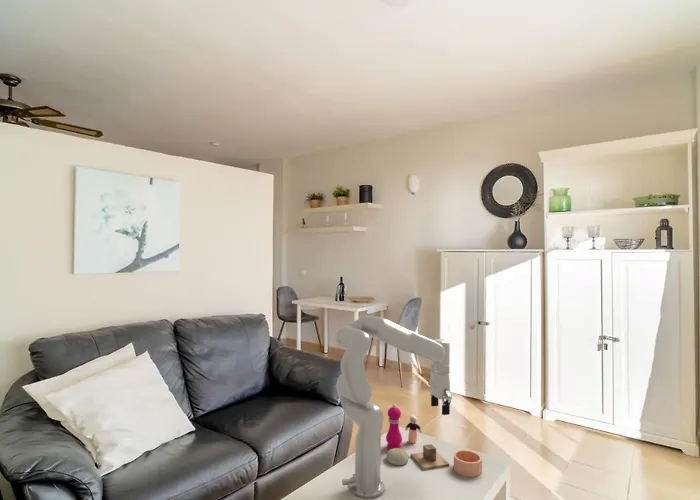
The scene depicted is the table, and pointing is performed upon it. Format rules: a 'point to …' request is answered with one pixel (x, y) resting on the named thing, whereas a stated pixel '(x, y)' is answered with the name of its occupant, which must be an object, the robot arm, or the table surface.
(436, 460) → the lid
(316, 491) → the table surface
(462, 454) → the bowl
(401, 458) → the sea urchin shell
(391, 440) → the pepper mill
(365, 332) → the robot arm
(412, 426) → the grandmother figurine
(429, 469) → the mat
